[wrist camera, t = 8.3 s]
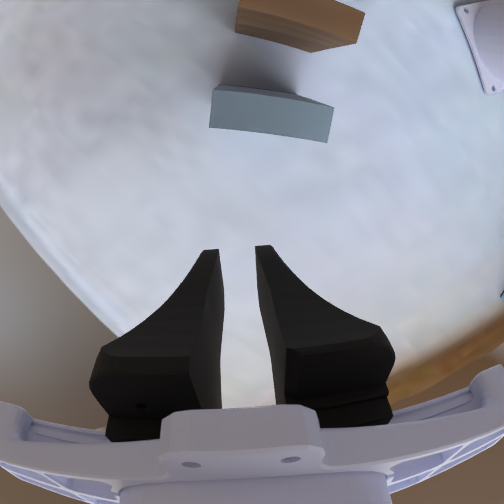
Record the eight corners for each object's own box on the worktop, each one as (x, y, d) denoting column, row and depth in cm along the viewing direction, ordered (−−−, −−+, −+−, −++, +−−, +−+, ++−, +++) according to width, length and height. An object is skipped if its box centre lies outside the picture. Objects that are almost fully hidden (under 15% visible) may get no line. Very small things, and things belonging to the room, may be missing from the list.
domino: (310, 52, 17) (356, 43, 10) (235, 32, 16) (237, 6, 9) (316, 32, 16) (365, 13, 9) (241, 11, 15) (248, -26, 8)
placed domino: (292, 117, 19) (327, 143, 13) (216, 107, 19) (209, 127, 12) (296, 94, 19) (334, 107, 12) (219, 84, 18) (213, 89, 11)
